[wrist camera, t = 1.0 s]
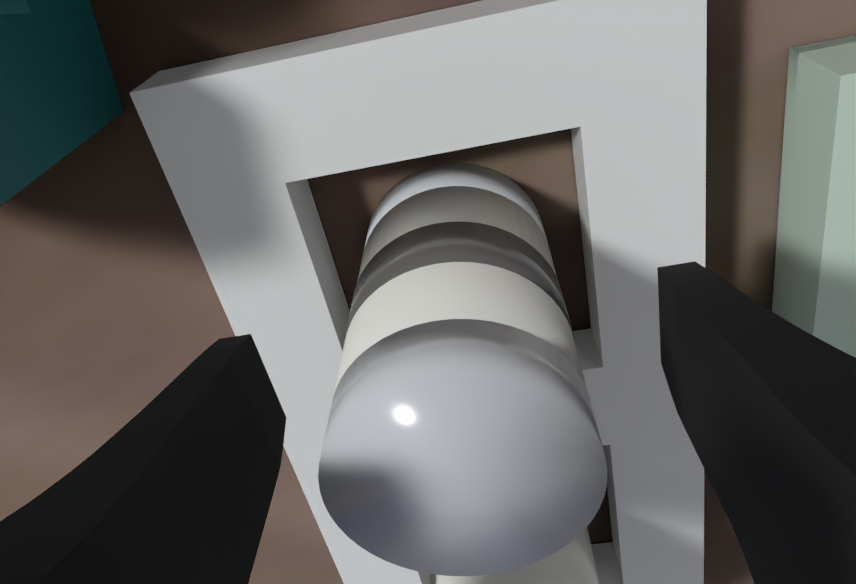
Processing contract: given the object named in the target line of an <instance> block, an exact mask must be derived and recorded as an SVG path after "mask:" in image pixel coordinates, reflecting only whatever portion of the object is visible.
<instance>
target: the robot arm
mask: <svg viewBox="0 0 856 584" xmlns="http://www.w3.org/2000/svg"><path fill="white" fill-rule="evenodd" d="M658 296H659V324H660V352H661V365H662V368H663V371H664V374H665V377H666V380H667V383H668V387H669V390H670V393H671V396H672V399H673V401H674V404H675V407H676V410H677V413H678V415H679V417H680V419H681V421H682V424H683V426H684V428H685V430H686V432H687V434H688V436H689V438H690V440H691V442H692V444H693V447H694V449H695V451H696V453H697V455H698V457H699V459H700V461H701V463H702V465H703V467H704V469H705V471H706V473H707V475H708V477H709V479H710V481H711V483H712V485H713V487H714V490H715V492H716V494H717V496H718V498H719V500H720V502H721V504H722V506H723V508H724V510H725V512H726V514H727V516H728V518H729V520H730V522H731V524H732V527H733V529H734V531H735V534H736V536H737V538H738V541H739V543H740V545H741V548H742V550H743V553H744V556H745V558H746V561H747V564H748V566H749V569H750V572H751V575H752V577H753V580H754V583H755V584H856V358H855V357H853V356H851V355H849V354H847V353H845V352H843V351H841V350H839V349H837V348H835V347H834V346H832V345H830V344H828V343H826V342H824V341H822V340H821V339H819V338H817V337H815V336H813V335H811V334H809V333H808V332H806V331H804V330H802V329H800V328H799V327H797V326H795V325H794V324H792V323H790V322H788V321H787V320H785V319H783V318H782V317H780V316H778V315H777V314H775V313H773V312H772V311H770V310H769V309H767V308H765V307H764V306H762V305H761V304H759V303H757V302H756V301H754V300H753V299H751V298H750V297H748V296H747V295H745V294H744V293H742V292H741V291H739V290H738V289H736V288H735V287H733V286H731V285H730V284H728V283H727V282H726V281H724V280H723V279H721V278H720V277H718V276H717V275H715V274H714V273H712V272H711V271H709V270H708V269H706V268H705V267H703V266H702V265H700V264H698V263H697V262H695V261H694V262H688V263H682V264H676V265H670V266H664V267H658ZM285 425H286V415H285V413H284V411H283V408H282V406H281V404H280V401H279V399H278V397H277V394H276V392H275V390H274V387H273V385H272V383H271V380H270V378H269V376H268V373H267V371H266V368H265V366H264V364H263V361H262V359H261V357H260V354H259V352H258V350H257V347H256V345H255V343H254V340H253V338H252V336H251V334H247V335H241V336H235V337H229V338H223V339H219V340H217V341H216V342H215V343H214V344H212V345H211V346H210V347H209V348H208V349H207V350H205V351H204V352H203V353H202V354H201V355H200V356H199V357H198V358H197V359H196V360H194V361H193V362H192V363H191V364H190V365H189V366H188V367H187V368H186V369H185V370H184V371H183V372H182V373H181V374H180V375H179V376H178V377H177V378H176V379H175V380H173V381H172V382H171V383H170V384H169V385H168V386H167V387H166V388H165V389H164V390H163V391H162V392H161V393H160V394H159V395H158V396H157V397H156V398H155V399H153V400H152V401H151V402H150V403H149V404H148V405H147V406H146V407H145V408H144V409H143V410H142V411H141V412H140V413H139V414H138V415H136V416H135V417H134V418H133V419H132V420H131V421H130V422H128V423H127V424H126V425H125V426H124V427H123V428H122V429H121V430H119V431H118V432H117V433H116V434H115V435H114V436H113V437H111V438H110V439H109V440H108V441H107V442H106V443H105V444H104V445H102V446H101V447H100V448H99V449H98V450H97V451H96V452H94V453H93V454H92V455H91V456H90V457H88V458H87V459H86V460H85V461H83V462H82V463H81V464H80V465H78V466H77V467H76V468H75V469H73V470H72V471H71V472H70V473H68V474H67V475H66V476H64V477H63V478H62V479H60V480H59V481H58V482H56V483H55V484H54V485H52V486H51V487H50V488H48V489H47V490H46V491H44V492H43V493H42V494H40V495H39V496H37V497H36V498H35V499H33V500H32V501H30V502H29V503H28V504H26V505H25V506H23V507H21V508H20V509H18V510H17V511H15V512H14V513H12V514H11V515H9V516H8V517H6V518H5V519H3V520H2V521H0V584H248V583H249V578H250V575H251V571H252V568H253V564H254V560H255V557H256V553H257V550H258V546H259V543H260V539H261V535H262V532H263V528H264V525H265V521H266V518H267V514H268V511H269V507H270V503H271V500H272V496H273V492H274V488H275V485H276V481H277V477H278V473H279V469H280V465H281V458H282V451H283V443H284V434H285Z"/></svg>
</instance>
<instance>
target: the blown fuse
mask: <svg viewBox="0 0 856 584" xmlns="http://www.w3.org/2000/svg"><path fill="white" fill-rule="evenodd" d="M318 481H319V489H320V493H321V496H322V500H323V503H324V505H325V507H326V509H327V511H328V513H329V515H330V516H331V518H332V519H333V520H334V522H335V523H336V525H337V526H338V527H339V528H340V529H341V530H342V531H343V532H344V533H345V534H346V535H347V536H348V537H349V538H350V539H351V540H352V541H354V542H355V543H356V544H357V545H359V546H360V547H361V548H363V549H365V550H366V551H368V552H369V553H371V554H373V555H375V556H377V557H379V558H381V559H383V560H385V561H387V562H390V563H392V564H395V565H398V566H400V567H403V568H407V569H411V570H414V571H418V572H423V573H429V574H434V575H445V576H480V575H489V574H496V573H502V572H506V571H510V570H514V569H518V568H521V567H524V566H527V565H530V564H533V563H535V562H538V561H540V560H542V559H544V558H546V557H549V556H550V555H552V554H554V553H555V552H557V551H559V550H561V549H562V548H564V547H565V546H566V545H568V544H569V543H570V542H572V541H573V540H574V539H575V538H576V537H577V536H578V535H580V534H581V533H582V532H583V531H584V530H585V528H586V527H587V526H588V525H589V524H590V522H591V521H592V520H593V518H594V517H595V515H596V513H597V512H598V510H599V508H600V506H601V503H602V501H603V498H604V496H605V491H606V486H607V463H606V458H605V453H604V450H603V446H602V442H601V438H600V435H599V431H598V427H597V424H596V420H595V416H594V412H593V409H592V405H591V401H590V398H589V394H588V390H587V387H586V383H585V379H584V375H583V372H582V368H581V364H580V361H579V357H578V353H577V349H576V344H575V339H574V334H573V330H572V326H571V323H570V319H569V315H568V312H567V308H566V304H565V301H564V297H563V293H562V290H561V287H560V284H559V281H558V279H557V275H556V272H555V268H554V264H553V261H552V257H551V253H550V249H549V246H548V242H547V238H546V235H545V231H544V227H543V223H542V220H541V218H540V215H539V212H538V210H537V208H536V206H535V205H534V203H533V201H532V200H531V199H530V197H529V196H528V195H527V193H526V192H525V191H524V190H523V189H522V188H521V187H520V186H519V185H517V184H516V183H515V182H513V181H512V180H511V179H509V178H508V177H506V176H504V175H502V174H501V173H499V172H496V171H494V170H491V169H489V168H486V167H482V166H478V165H473V164H465V163H448V164H440V165H435V166H431V167H427V168H424V169H422V170H419V171H417V172H414V173H413V174H411V175H409V176H407V177H405V178H404V179H402V180H401V181H400V182H398V183H397V184H396V185H394V186H393V187H392V188H391V189H390V190H389V191H388V192H387V193H386V194H385V196H384V197H383V198H382V199H381V201H380V202H379V204H378V205H377V207H376V209H375V211H374V213H373V215H372V218H371V220H370V224H369V228H368V233H367V238H366V242H365V247H364V252H363V257H362V261H361V266H360V271H359V276H358V280H357V284H356V287H355V291H354V295H353V299H352V304H351V309H350V313H349V318H348V323H347V327H346V332H345V337H344V342H343V352H342V357H341V362H340V366H339V371H338V376H337V381H336V385H335V390H334V395H333V400H332V404H331V409H330V414H329V419H328V423H327V428H326V433H325V438H324V443H323V447H322V452H321V457H320V462H319V471H318Z"/></svg>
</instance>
